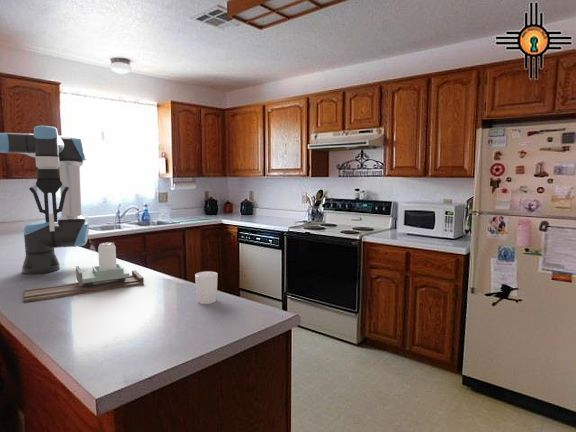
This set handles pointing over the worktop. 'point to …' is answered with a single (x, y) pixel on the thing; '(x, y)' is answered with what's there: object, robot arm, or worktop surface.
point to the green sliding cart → (101, 275)
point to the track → (81, 288)
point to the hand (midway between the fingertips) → (52, 230)
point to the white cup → (206, 287)
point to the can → (107, 256)
